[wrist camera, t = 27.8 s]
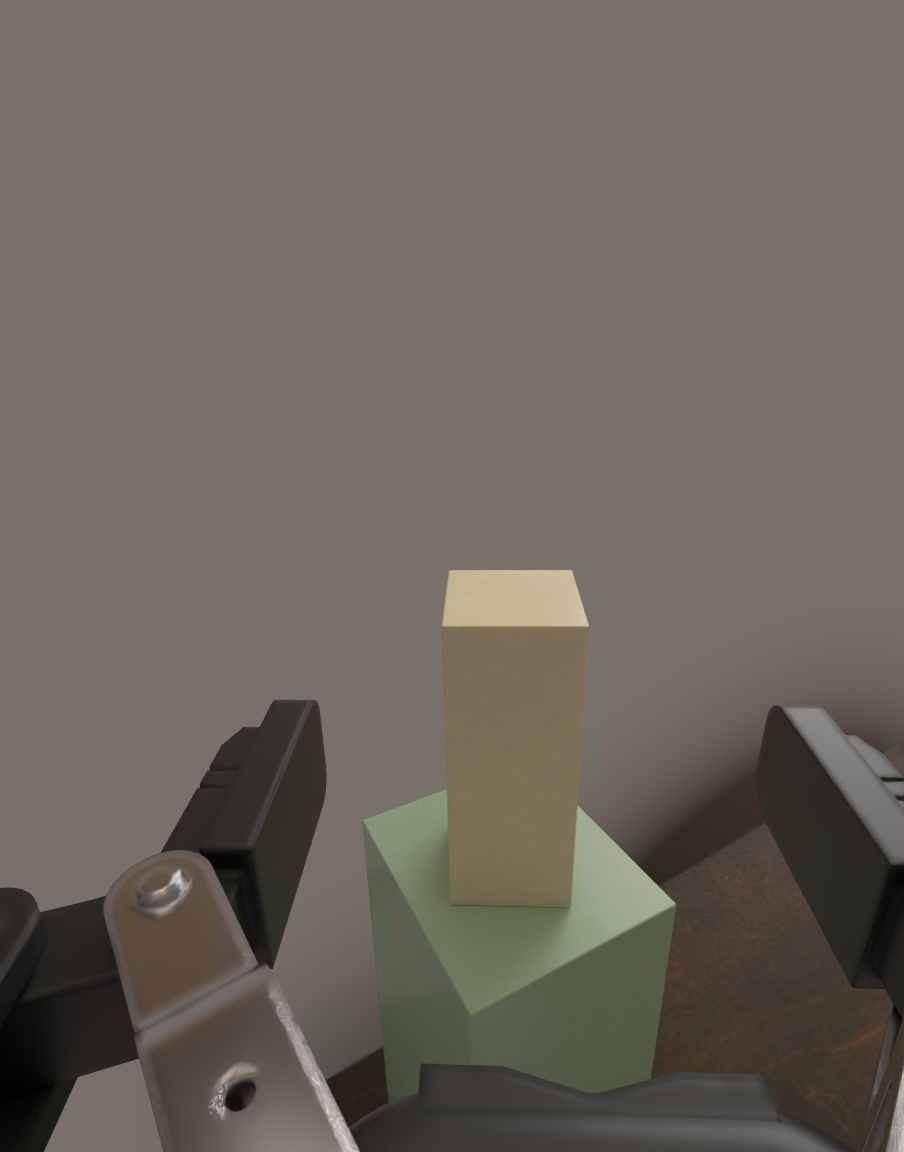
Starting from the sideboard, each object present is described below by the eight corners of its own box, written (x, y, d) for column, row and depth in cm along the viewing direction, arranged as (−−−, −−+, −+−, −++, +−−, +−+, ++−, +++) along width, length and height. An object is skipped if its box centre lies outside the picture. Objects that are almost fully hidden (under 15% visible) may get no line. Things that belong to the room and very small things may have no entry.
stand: (475, 1339, 31) (469, 1015, 22) (389, 1119, 39) (361, 820, 30) (630, 1221, 34) (677, 904, 26) (522, 1043, 43) (530, 757, 34)
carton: (450, 905, 26) (441, 626, 21) (454, 818, 30) (448, 570, 25) (571, 908, 26) (589, 626, 21) (558, 820, 30) (571, 569, 25)
